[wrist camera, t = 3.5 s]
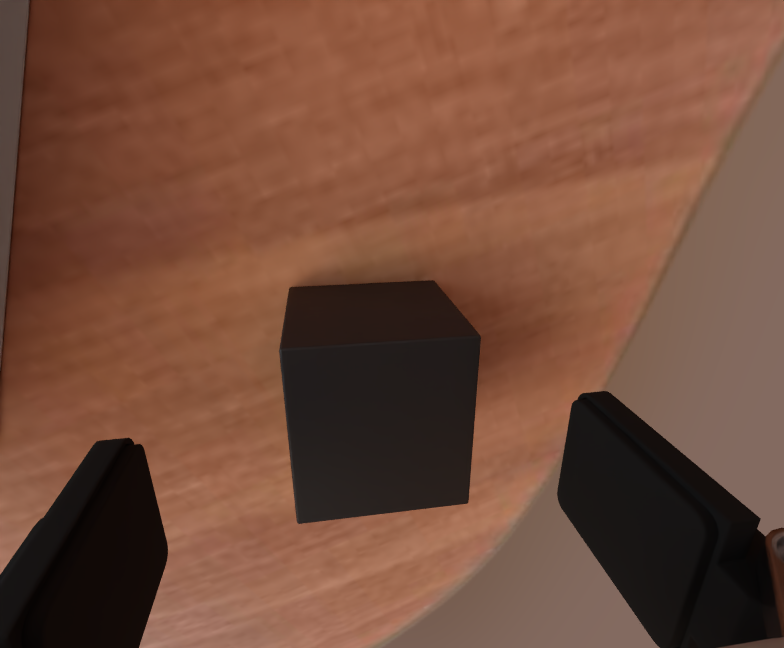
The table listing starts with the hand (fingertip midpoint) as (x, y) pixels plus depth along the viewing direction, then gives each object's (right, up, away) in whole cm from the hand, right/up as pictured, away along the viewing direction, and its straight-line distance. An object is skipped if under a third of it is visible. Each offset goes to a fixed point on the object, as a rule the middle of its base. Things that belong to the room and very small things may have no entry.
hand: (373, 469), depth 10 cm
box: (-1, +2, +5) cm, 6 cm away
